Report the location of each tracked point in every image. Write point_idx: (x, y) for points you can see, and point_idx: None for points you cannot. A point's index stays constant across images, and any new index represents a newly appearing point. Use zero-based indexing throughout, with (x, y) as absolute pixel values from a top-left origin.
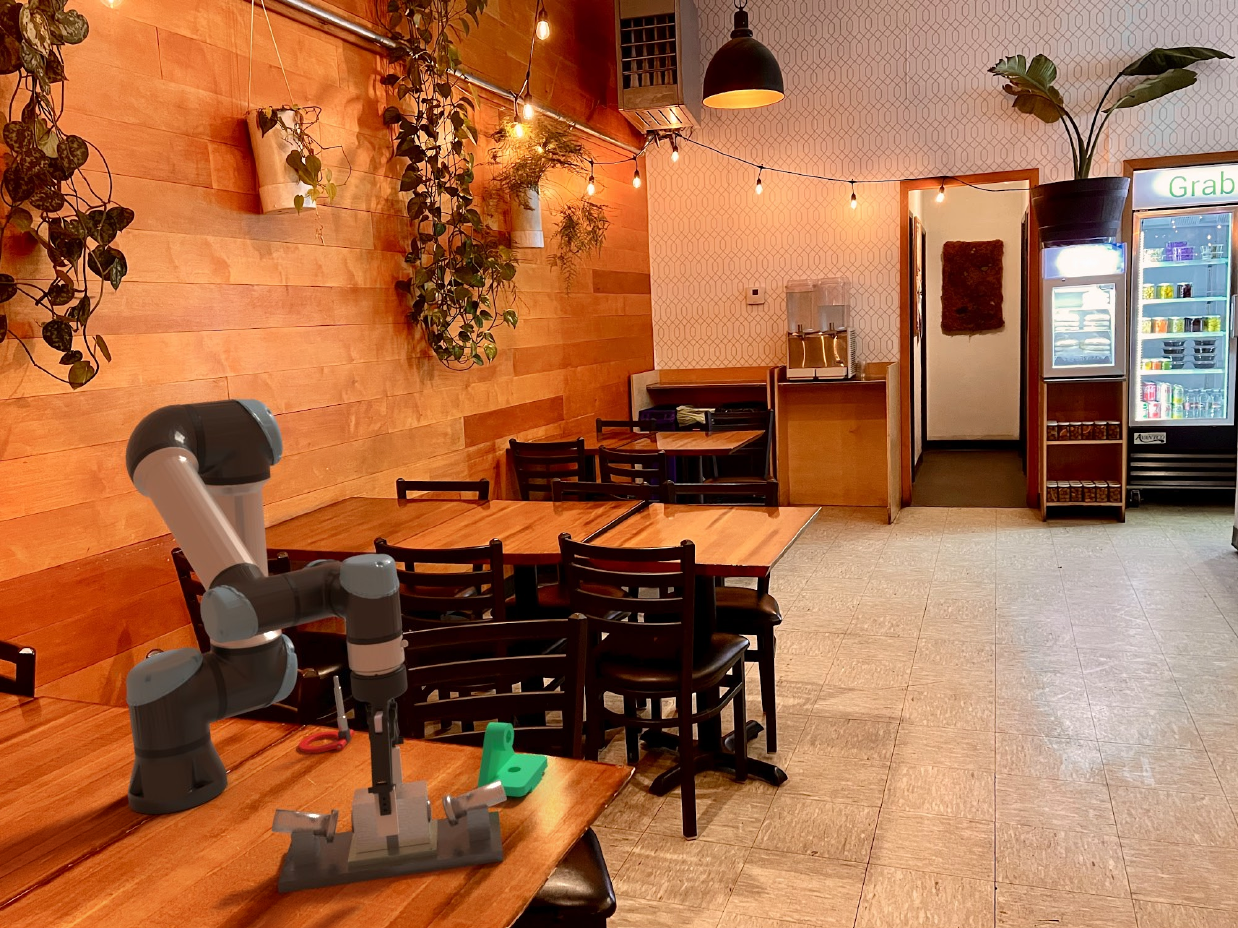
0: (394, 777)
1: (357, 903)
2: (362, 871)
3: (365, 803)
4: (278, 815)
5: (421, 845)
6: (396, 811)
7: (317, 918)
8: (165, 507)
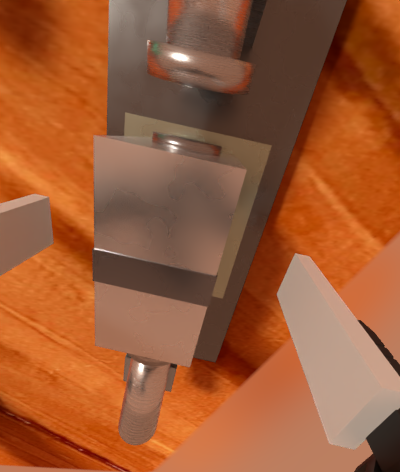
0: (17, 232)
1: None
2: (246, 276)
3: (196, 342)
4: (146, 436)
5: None
6: (340, 298)
7: None
8: None
